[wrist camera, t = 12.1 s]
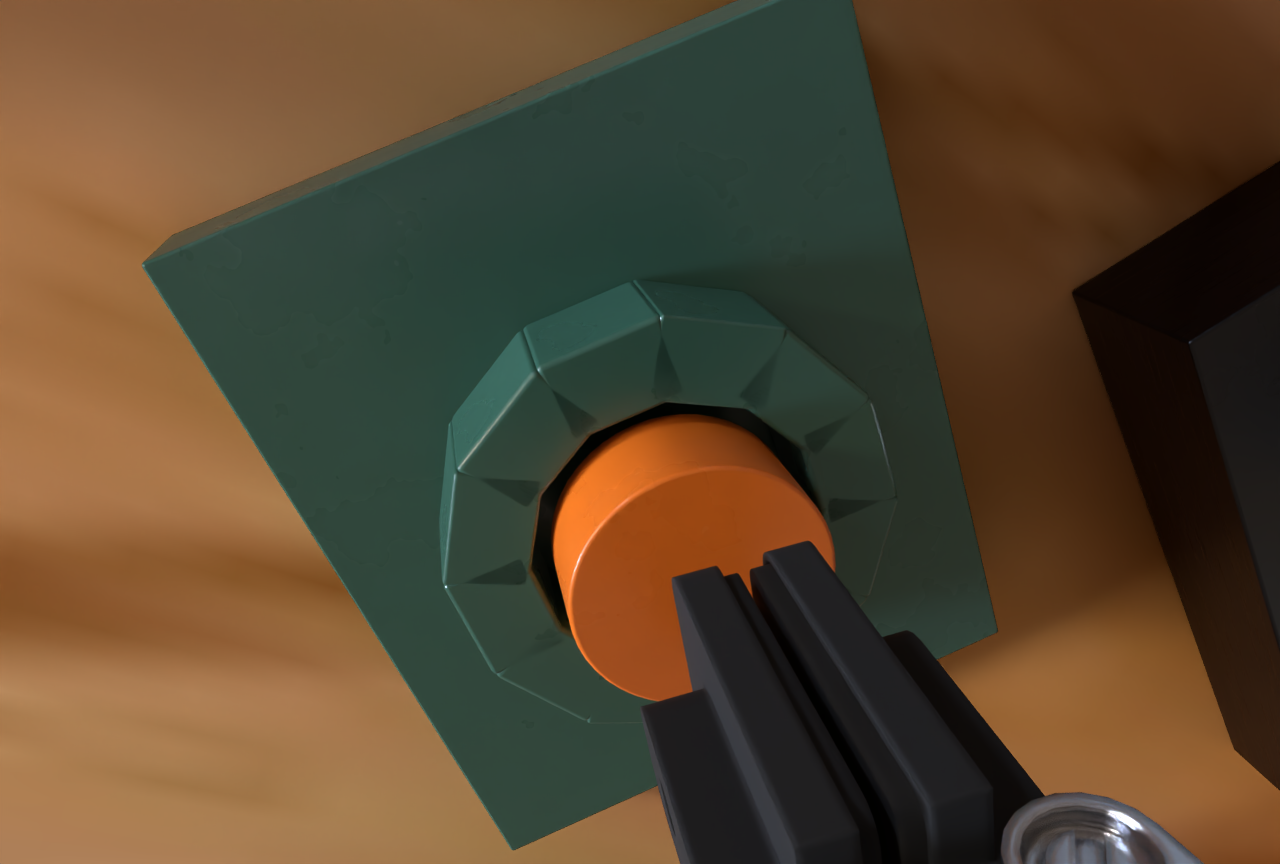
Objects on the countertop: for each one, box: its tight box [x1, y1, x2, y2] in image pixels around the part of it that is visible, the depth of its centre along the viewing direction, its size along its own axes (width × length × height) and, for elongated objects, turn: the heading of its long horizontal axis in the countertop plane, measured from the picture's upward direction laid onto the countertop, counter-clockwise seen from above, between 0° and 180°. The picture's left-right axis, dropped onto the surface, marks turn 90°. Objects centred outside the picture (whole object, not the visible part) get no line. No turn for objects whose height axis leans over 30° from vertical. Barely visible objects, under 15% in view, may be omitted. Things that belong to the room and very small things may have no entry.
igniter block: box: [142, 0, 998, 850], centre depth 15 cm, size 12×10×4 cm
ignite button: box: [551, 414, 836, 701], centre depth 13 cm, size 4×4×2 cm
